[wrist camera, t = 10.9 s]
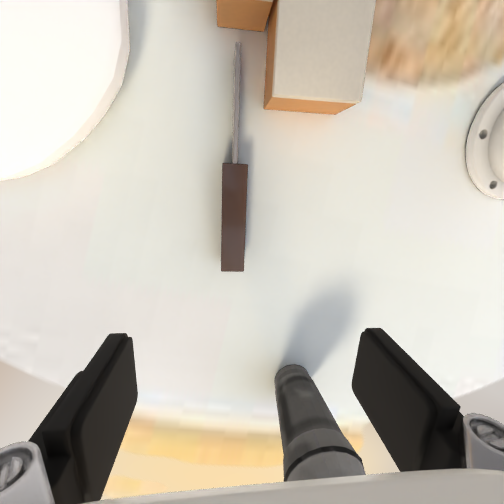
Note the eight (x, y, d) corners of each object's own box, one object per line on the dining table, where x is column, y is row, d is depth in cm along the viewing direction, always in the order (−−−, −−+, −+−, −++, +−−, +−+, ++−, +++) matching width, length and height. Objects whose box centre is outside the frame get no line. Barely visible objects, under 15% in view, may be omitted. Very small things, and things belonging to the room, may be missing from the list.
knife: (249, 58, 23) (252, 42, 20) (241, 261, 29) (243, 271, 26) (223, 55, 23) (224, 39, 20) (221, 261, 29) (221, 271, 26)
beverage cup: (293, 345, 33) (392, 588, 14) (330, 376, 35) (460, 625, 16) (252, 382, 34) (290, 657, 15) (290, 410, 36) (366, 683, 17)
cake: (348, 13, 23) (380, -28, 18) (335, 114, 25) (361, 101, 21) (269, 3, 22) (281, -42, 18) (263, 109, 25) (273, 94, 20)
